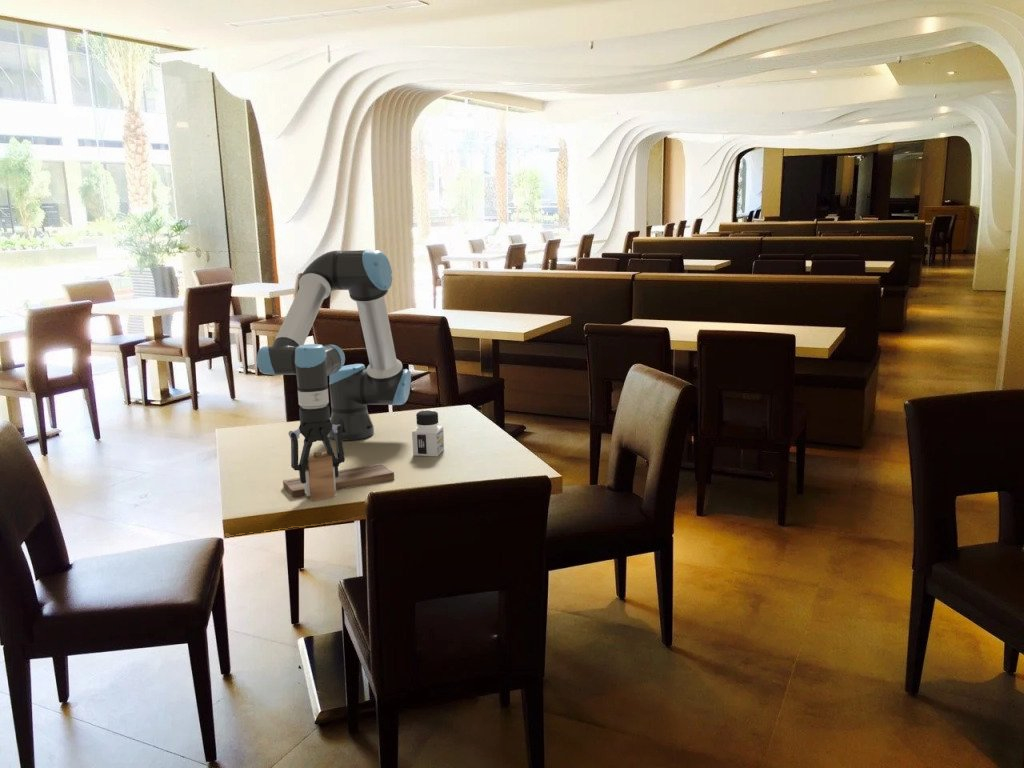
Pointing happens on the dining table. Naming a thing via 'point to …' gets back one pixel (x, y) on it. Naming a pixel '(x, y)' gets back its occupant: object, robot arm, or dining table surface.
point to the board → (346, 479)
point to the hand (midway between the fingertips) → (320, 491)
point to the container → (427, 434)
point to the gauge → (320, 476)
